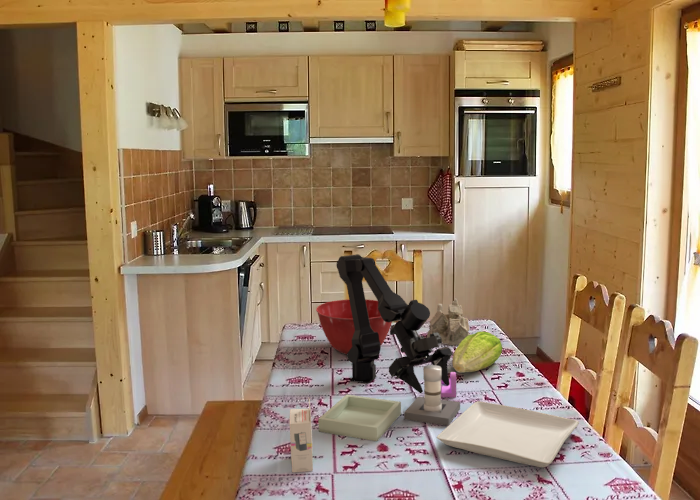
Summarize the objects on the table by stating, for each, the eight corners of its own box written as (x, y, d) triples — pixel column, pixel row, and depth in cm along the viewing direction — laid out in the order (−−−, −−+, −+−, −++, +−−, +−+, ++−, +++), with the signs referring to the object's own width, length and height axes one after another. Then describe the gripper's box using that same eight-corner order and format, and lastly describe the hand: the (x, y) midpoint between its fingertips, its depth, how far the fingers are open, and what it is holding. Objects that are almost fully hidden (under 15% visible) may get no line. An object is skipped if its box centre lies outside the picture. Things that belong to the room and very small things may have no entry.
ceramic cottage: (426, 332, 258) (428, 295, 255) (469, 334, 256) (471, 297, 253) (426, 347, 243) (427, 307, 240) (471, 349, 241) (473, 310, 237)
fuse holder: (404, 419, 177) (404, 412, 176) (418, 403, 188) (418, 396, 187) (448, 425, 172) (448, 418, 172) (460, 409, 183) (460, 402, 183)
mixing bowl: (410, 344, 243) (409, 303, 241) (370, 367, 220) (369, 321, 217) (345, 334, 258) (344, 295, 256) (301, 354, 235) (300, 311, 232)
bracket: (456, 397, 191) (456, 374, 190) (436, 397, 192) (436, 374, 191) (451, 382, 204) (451, 360, 203) (433, 382, 205) (433, 360, 204)
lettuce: (433, 359, 210) (463, 341, 203) (465, 336, 230) (493, 319, 222) (455, 392, 208) (485, 375, 201) (485, 365, 228) (514, 349, 221)
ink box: (291, 455, 157) (288, 396, 155) (312, 454, 158) (310, 395, 155) (291, 473, 149) (288, 410, 147) (313, 472, 149) (311, 409, 147)
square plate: (549, 479, 144) (550, 462, 144) (434, 451, 159) (434, 435, 158) (579, 432, 167) (580, 418, 167) (476, 412, 181) (476, 398, 181)
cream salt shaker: (421, 416, 179) (421, 369, 177) (426, 409, 183) (426, 364, 181) (438, 418, 177) (438, 371, 175) (443, 412, 181) (443, 366, 179)
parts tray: (318, 431, 170) (318, 418, 170) (347, 406, 187) (346, 394, 186) (377, 441, 164) (376, 427, 163) (401, 414, 180) (400, 401, 180)
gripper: (394, 329, 175) (421, 381, 167) (448, 318, 185) (476, 367, 177) (377, 351, 182) (402, 402, 175) (430, 339, 192) (456, 387, 185)
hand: (435, 388), depth 178 cm, fingers open, 9 cm apart
